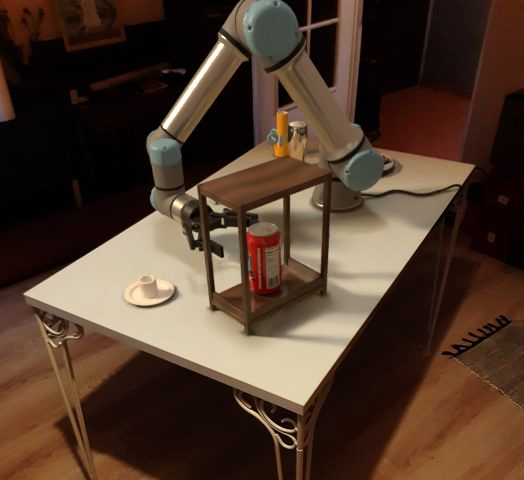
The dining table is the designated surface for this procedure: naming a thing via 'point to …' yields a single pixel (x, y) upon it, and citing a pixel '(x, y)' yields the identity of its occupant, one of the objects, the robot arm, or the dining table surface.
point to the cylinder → (280, 135)
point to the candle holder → (149, 291)
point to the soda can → (264, 258)
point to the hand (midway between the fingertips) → (246, 242)
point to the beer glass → (297, 139)
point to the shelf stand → (293, 272)
